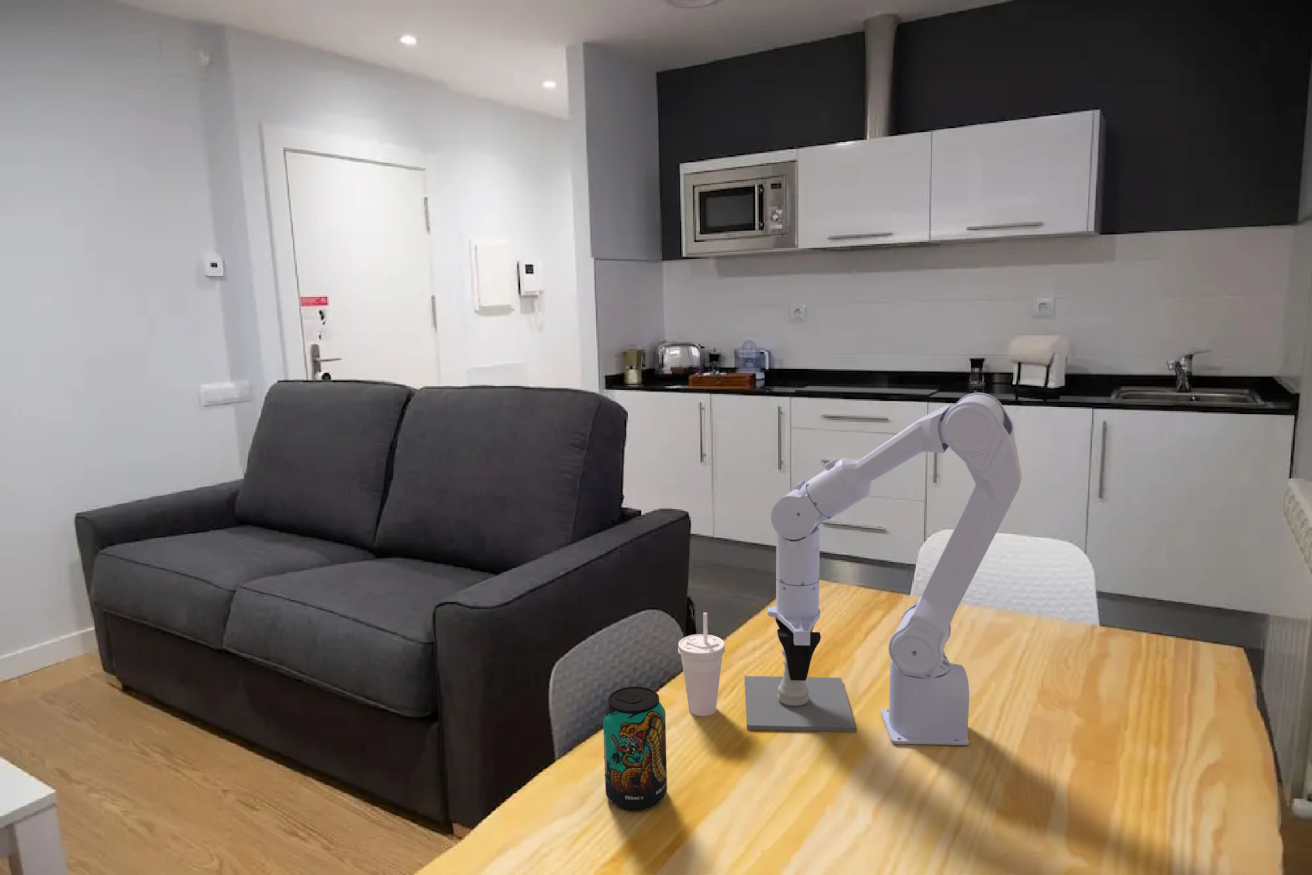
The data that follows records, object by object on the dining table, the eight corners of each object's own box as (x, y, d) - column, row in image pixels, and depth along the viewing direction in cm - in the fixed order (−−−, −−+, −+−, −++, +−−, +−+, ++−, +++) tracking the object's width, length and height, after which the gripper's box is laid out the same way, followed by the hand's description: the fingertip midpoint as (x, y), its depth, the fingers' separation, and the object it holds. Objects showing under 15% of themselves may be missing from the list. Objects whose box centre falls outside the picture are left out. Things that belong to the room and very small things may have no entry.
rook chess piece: (773, 693, 116) (773, 640, 115) (804, 691, 117) (804, 637, 116) (781, 709, 112) (781, 653, 111) (813, 706, 113) (814, 651, 111)
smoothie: (722, 723, 110) (721, 623, 108) (675, 719, 111) (673, 620, 109) (728, 699, 116) (727, 605, 114) (683, 696, 117) (681, 602, 115)
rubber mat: (841, 681, 121) (841, 677, 121) (855, 731, 107) (855, 727, 107) (744, 679, 122) (744, 675, 122) (747, 729, 108) (747, 725, 108)
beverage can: (645, 822, 90) (642, 719, 88) (593, 802, 94) (589, 703, 91) (678, 788, 96) (676, 692, 94) (628, 771, 99) (625, 678, 97)
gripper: (765, 561, 119) (765, 649, 121) (770, 598, 105) (770, 697, 107) (814, 561, 118) (813, 650, 121) (827, 598, 104) (825, 698, 106)
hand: (796, 672), depth 114 cm, fingers open, 3 cm apart
